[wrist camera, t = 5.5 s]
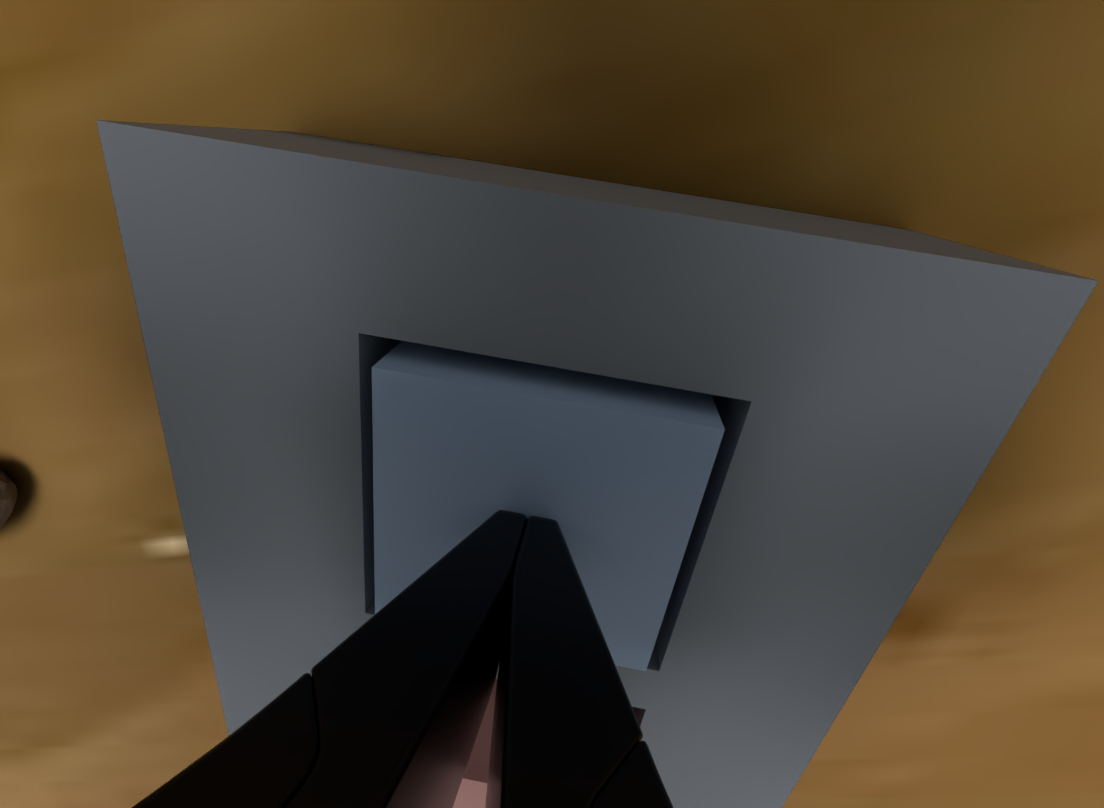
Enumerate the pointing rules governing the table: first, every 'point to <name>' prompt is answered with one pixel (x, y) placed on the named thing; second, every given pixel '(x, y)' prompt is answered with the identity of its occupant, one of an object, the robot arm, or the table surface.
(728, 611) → the key panel
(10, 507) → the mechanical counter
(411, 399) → the blue key
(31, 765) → the table surface
